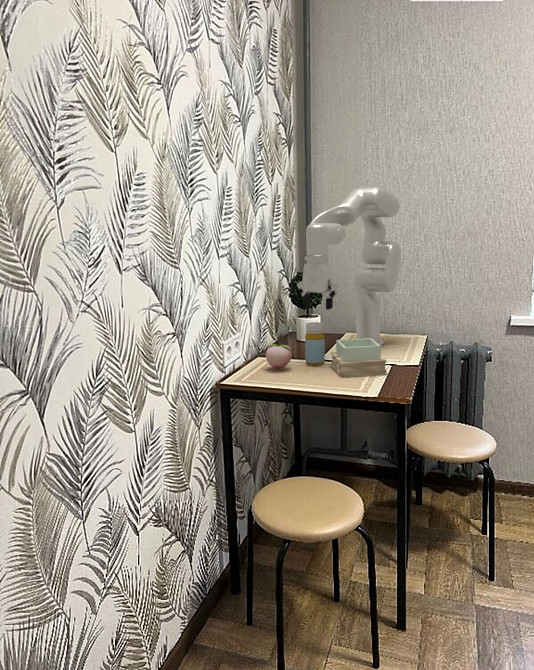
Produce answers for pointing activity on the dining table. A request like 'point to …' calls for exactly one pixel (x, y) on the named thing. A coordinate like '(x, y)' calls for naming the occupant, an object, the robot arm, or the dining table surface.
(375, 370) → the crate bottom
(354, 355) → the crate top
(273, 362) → the decorative fruit
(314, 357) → the bottle
